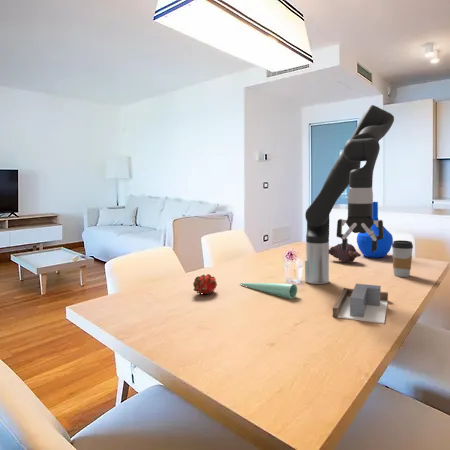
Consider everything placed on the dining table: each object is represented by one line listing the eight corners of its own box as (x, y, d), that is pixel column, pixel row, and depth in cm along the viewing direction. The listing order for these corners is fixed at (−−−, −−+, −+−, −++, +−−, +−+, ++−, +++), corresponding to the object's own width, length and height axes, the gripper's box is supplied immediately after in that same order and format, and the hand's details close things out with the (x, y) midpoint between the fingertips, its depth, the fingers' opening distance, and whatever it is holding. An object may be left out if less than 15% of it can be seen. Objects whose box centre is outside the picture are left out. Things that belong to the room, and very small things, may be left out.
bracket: (355, 300, 129) (356, 283, 129) (380, 302, 126) (380, 285, 125) (350, 315, 115) (350, 297, 114) (377, 319, 112) (377, 300, 111)
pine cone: (324, 261, 191) (324, 243, 190) (331, 258, 199) (331, 240, 197) (358, 265, 180) (358, 245, 179) (364, 262, 187) (365, 242, 186)
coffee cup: (394, 272, 166) (394, 239, 164) (414, 274, 161) (415, 241, 159) (388, 276, 160) (389, 242, 158) (409, 278, 155) (410, 244, 153)
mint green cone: (244, 271, 155) (297, 282, 136) (244, 284, 156) (297, 296, 137) (235, 274, 151) (288, 285, 133) (235, 287, 152) (289, 300, 133)
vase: (367, 251, 213) (368, 200, 210) (398, 255, 199) (400, 201, 195) (350, 256, 202) (350, 202, 198) (382, 261, 188) (383, 203, 184)
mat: (337, 317, 115) (337, 316, 115) (347, 297, 134) (347, 296, 134) (384, 323, 109) (384, 322, 109) (387, 301, 128) (387, 300, 128)
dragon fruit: (192, 301, 139) (213, 297, 149) (206, 291, 135) (227, 288, 144) (184, 281, 143) (205, 279, 152) (198, 271, 138) (218, 269, 147)
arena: (332, 316, 116) (332, 307, 115) (343, 295, 136) (343, 287, 135) (384, 323, 109) (384, 314, 109) (387, 300, 129) (387, 292, 129)
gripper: (385, 201, 118) (383, 250, 120) (339, 200, 124) (338, 247, 126) (383, 202, 111) (381, 254, 113) (335, 202, 118) (334, 251, 120)
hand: (359, 251), depth 120 cm, fingers open, 8 cm apart
